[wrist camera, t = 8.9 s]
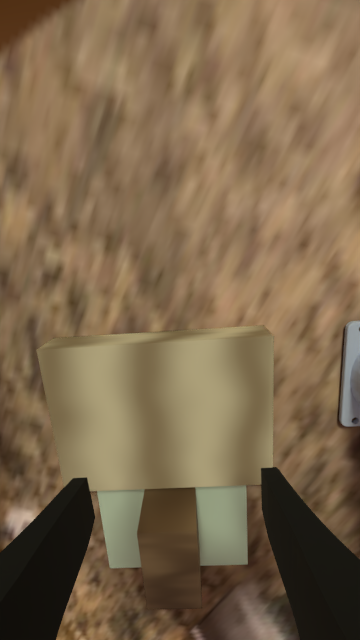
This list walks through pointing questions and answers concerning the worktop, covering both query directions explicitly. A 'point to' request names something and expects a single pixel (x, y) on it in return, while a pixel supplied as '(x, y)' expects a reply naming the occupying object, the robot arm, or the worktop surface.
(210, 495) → the green mat
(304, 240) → the worktop surface
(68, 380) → the maple board
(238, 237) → the worktop surface
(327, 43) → the worktop surface
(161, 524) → the walnut block
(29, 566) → the robot arm
